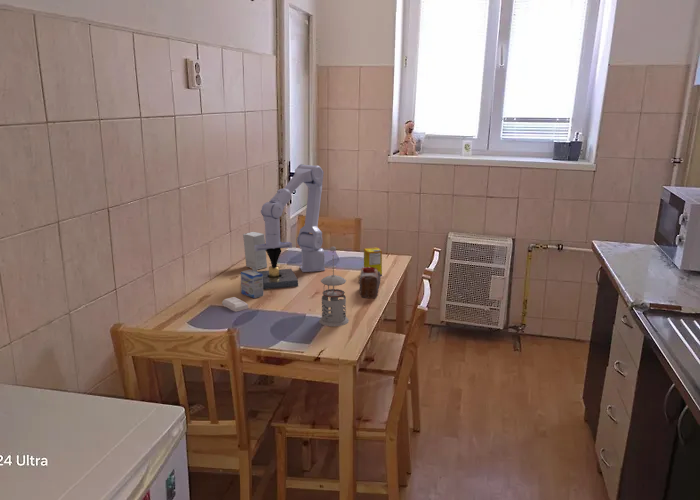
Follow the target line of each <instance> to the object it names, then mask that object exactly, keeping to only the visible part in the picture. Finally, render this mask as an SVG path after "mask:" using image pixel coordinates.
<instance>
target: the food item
mask: <svg viewBox="0 0 700 500" xmlns="http://www.w3.org/2000/svg"><path fill="white" fill-rule="evenodd" d="M376 268H377V267H376ZM376 268H373V267H365V268H364V267H362V268H361V271H360V273H359V274H360V275H359V280H358V281H359V295H360V297H361V299H362V298H363V299H371V298H372V299H376V298H377V297H378V295H379V290H380V284H381V278H382V276H380V272H378V270H377V269H376Z"/></svg>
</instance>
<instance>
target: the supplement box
mask: <svg viewBox="0 0 700 500" xmlns="http://www.w3.org/2000/svg"><path fill="white" fill-rule="evenodd" d="M382 261H383V251H382V250H381V248H379V247H376V246H375V247H366V248H363V268H365V267H373V268H376V267H377V268H376V269H377V270H378V272H380V277H382V276H383V275H382V274H383V273H382V272H383V265H382V264H383V262H382Z"/></svg>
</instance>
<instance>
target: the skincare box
mask: <svg viewBox="0 0 700 500" xmlns="http://www.w3.org/2000/svg"><path fill="white" fill-rule="evenodd" d="M242 237H243V238H242V239H243V248H244V257H245V259H244V260H245V267H246V268H251V269H252V267H256V269H257V271H259V270H260V269H261V270H262V269H265V268H267V267H268V262H267V252H266V250H260V251H255V250H254V246H255V245H261V244H266V238H265V233H261V232H255V231H251V232H247V233H243V234H242Z"/></svg>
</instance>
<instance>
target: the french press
mask: <svg viewBox="0 0 700 500" xmlns="http://www.w3.org/2000/svg"><path fill="white" fill-rule="evenodd" d="M329 251H332V252H334V251H337V249H336V246H330V248H329ZM334 264H335V263H334V256H332V275H328V276H325V277H323V278H322V279H320V282H321V283H322V285H323V287H325V286H327V287H328V288H327V289H324V290H323V291H322V296H321V318H320V319H319V321H318V322H319V324H321V325H322V326H326V327H342V326H345V325H347V324H348V323H349V321H350V320H349V318H348V317H347V315H346V314H347V311H346V310H347V301H346V300H347V299H346V298H347V296H346V295H345V293H346V292H345V291H344V290H342V289H339V288H335V287H336V286H342V285H344V284H345V283H346V281H347V280H346V279H345V277H342V276H340V275H335V270H334V269H335V268H334V266H335V265H334ZM330 286H331V287H332V288H330ZM342 298H343V299H342ZM329 308H330V309H329Z"/></svg>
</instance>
